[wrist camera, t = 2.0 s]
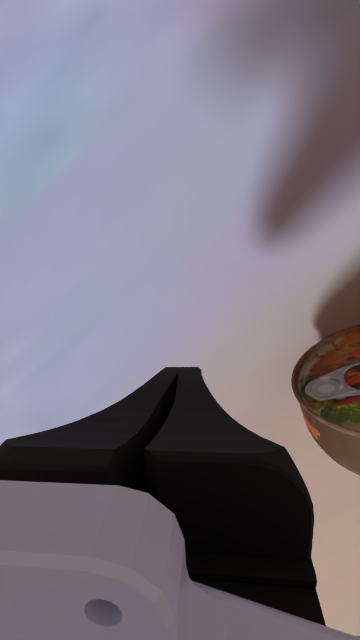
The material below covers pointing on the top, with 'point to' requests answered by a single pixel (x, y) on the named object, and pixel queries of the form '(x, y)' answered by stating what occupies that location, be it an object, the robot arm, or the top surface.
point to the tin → (332, 395)
